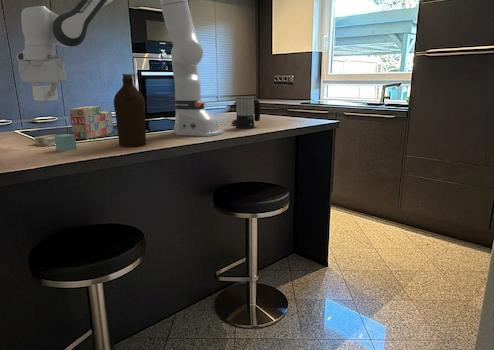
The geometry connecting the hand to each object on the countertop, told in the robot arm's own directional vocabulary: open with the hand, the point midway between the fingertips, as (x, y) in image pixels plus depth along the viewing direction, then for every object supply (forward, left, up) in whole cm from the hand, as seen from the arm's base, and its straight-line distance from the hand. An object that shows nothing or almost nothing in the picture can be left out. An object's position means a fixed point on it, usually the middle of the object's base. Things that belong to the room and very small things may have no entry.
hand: (45, 95), depth 132 cm
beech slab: (0, 0, -18) cm, 18 cm away
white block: (0, 0, -2) cm, 2 cm away
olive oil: (-29, -11, -18) cm, 36 cm away
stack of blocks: (+1, -21, -18) cm, 28 cm away
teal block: (-15, +6, -18) cm, 24 cm away
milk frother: (-43, -74, -18) cm, 87 cm away
